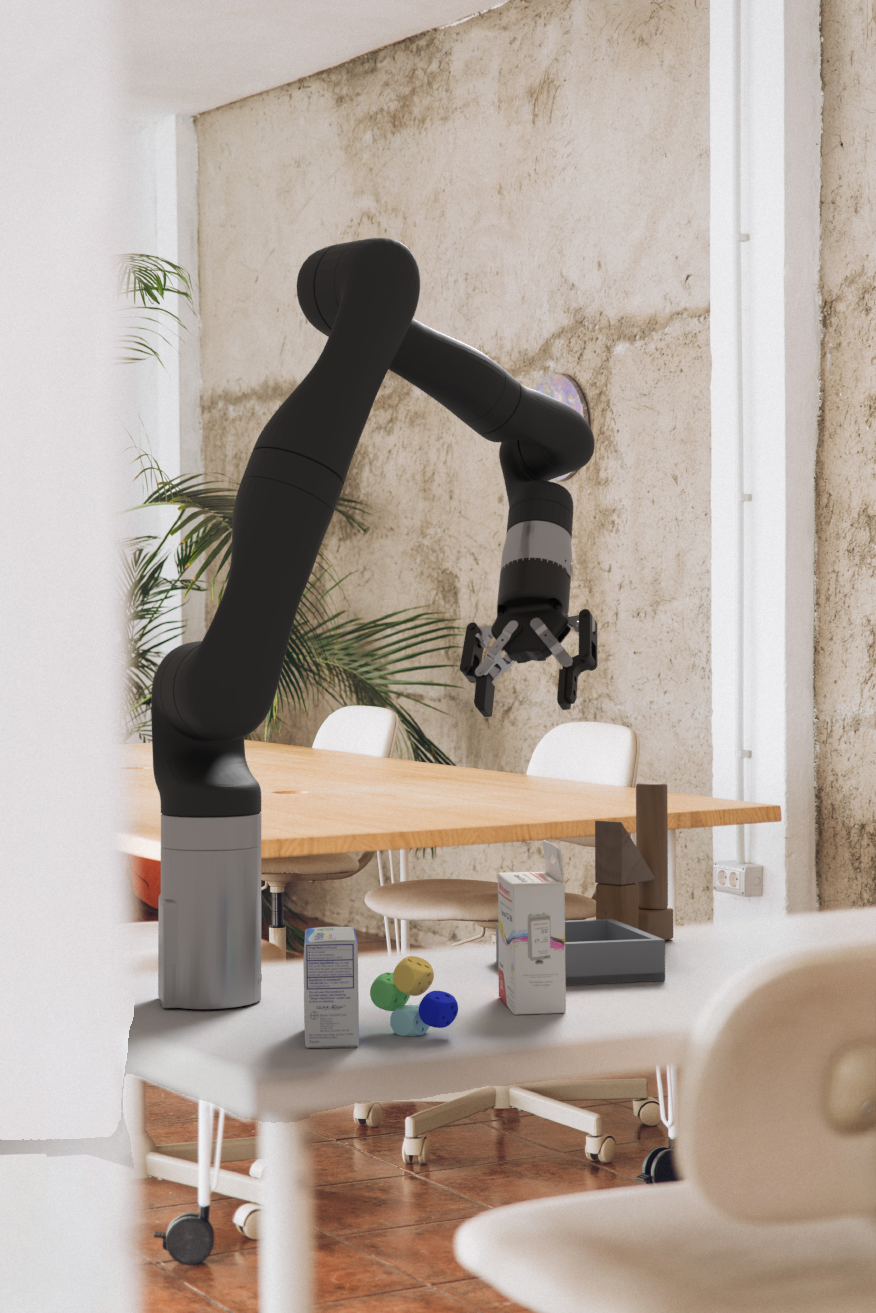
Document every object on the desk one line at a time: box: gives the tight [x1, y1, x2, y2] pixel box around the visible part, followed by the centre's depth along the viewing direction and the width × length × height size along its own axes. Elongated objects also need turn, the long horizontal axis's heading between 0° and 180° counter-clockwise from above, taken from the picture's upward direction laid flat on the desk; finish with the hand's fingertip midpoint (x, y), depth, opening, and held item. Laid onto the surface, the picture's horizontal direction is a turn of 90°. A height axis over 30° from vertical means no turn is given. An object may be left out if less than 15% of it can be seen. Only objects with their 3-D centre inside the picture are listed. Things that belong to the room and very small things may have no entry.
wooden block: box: [594, 781, 674, 941], centre depth 181 cm, size 4×11×18 cm, turn 140°
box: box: [495, 918, 666, 986], centre depth 163 cm, size 13×15×4 cm
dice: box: [369, 955, 459, 1037], centre depth 133 cm, size 8×3×6 cm, turn 53°
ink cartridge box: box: [497, 839, 567, 1016], centre depth 145 cm, size 9×5×15 cm, turn 8°
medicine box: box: [303, 926, 360, 1049], centre depth 132 cm, size 8×4×9 cm, turn 5°
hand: (524, 710), depth 162 cm, fingers open, 8 cm apart
